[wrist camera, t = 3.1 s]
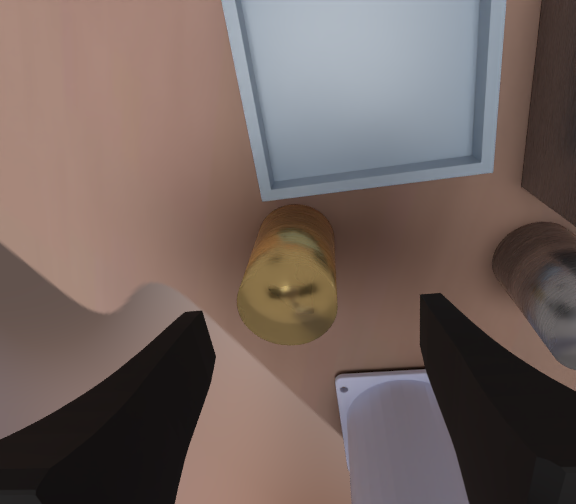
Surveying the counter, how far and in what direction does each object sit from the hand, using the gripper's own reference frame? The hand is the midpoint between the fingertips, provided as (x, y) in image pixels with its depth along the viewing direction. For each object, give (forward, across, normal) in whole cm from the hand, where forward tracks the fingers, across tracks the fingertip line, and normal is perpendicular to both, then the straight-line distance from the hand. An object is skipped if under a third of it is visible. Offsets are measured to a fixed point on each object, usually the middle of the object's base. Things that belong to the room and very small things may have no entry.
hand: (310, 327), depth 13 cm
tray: (+8, -3, -7) cm, 11 cm away
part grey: (+8, -11, +3) cm, 14 cm away
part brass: (+8, +1, +1) cm, 9 cm away
